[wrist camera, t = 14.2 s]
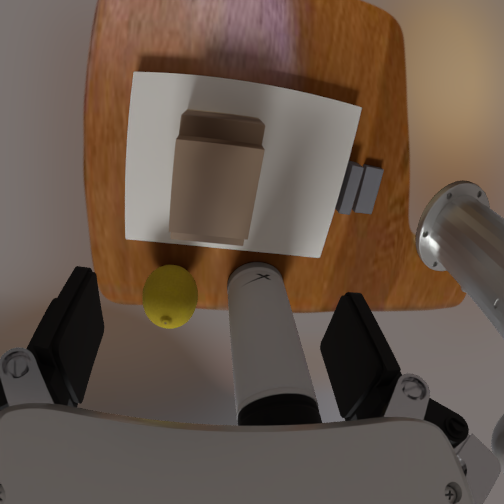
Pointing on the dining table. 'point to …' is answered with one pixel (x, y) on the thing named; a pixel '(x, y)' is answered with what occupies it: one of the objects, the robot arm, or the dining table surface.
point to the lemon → (170, 296)
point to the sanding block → (215, 177)
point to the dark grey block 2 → (367, 189)
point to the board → (273, 166)
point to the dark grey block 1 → (349, 187)
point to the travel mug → (267, 352)
